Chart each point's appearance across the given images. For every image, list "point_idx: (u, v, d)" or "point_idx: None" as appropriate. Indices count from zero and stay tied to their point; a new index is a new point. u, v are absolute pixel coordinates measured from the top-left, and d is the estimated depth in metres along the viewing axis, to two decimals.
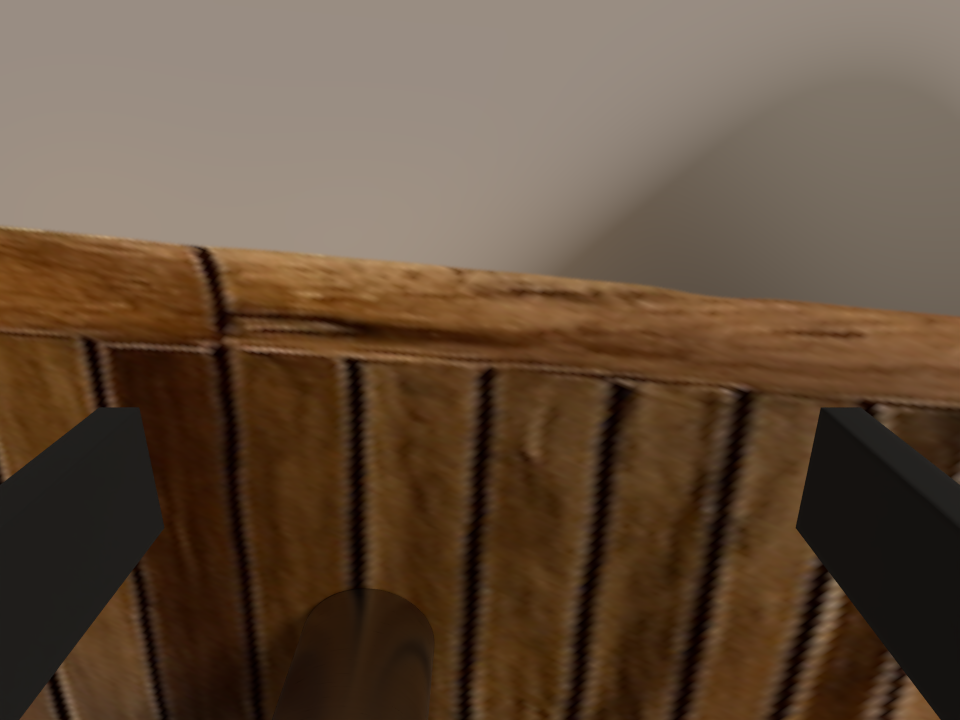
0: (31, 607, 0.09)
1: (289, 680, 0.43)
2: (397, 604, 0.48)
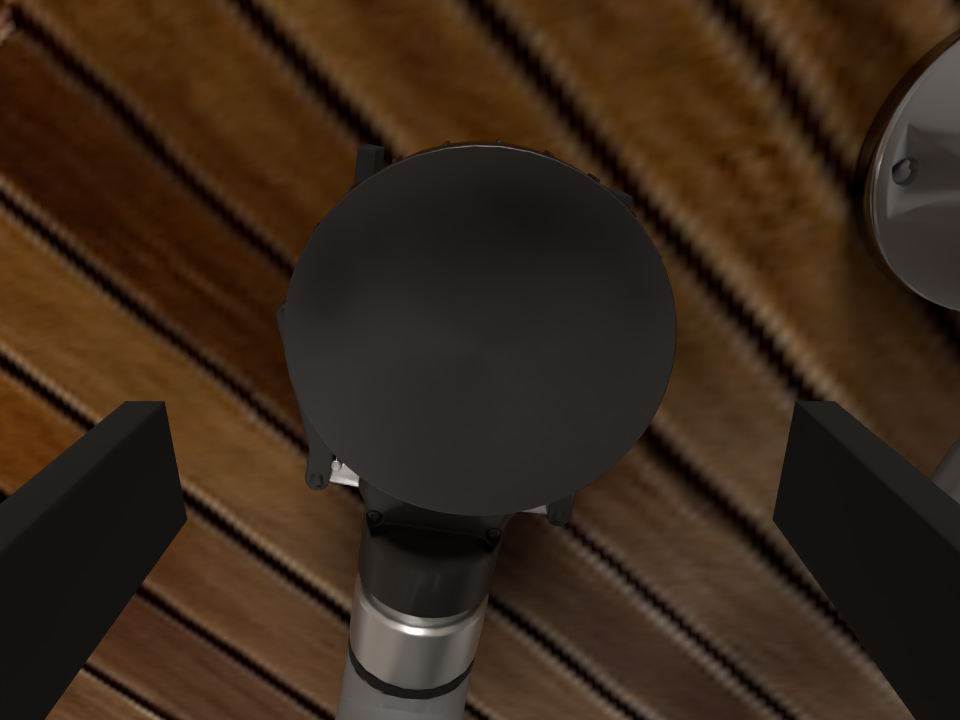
0: (68, 593, 0.10)
1: None
2: None
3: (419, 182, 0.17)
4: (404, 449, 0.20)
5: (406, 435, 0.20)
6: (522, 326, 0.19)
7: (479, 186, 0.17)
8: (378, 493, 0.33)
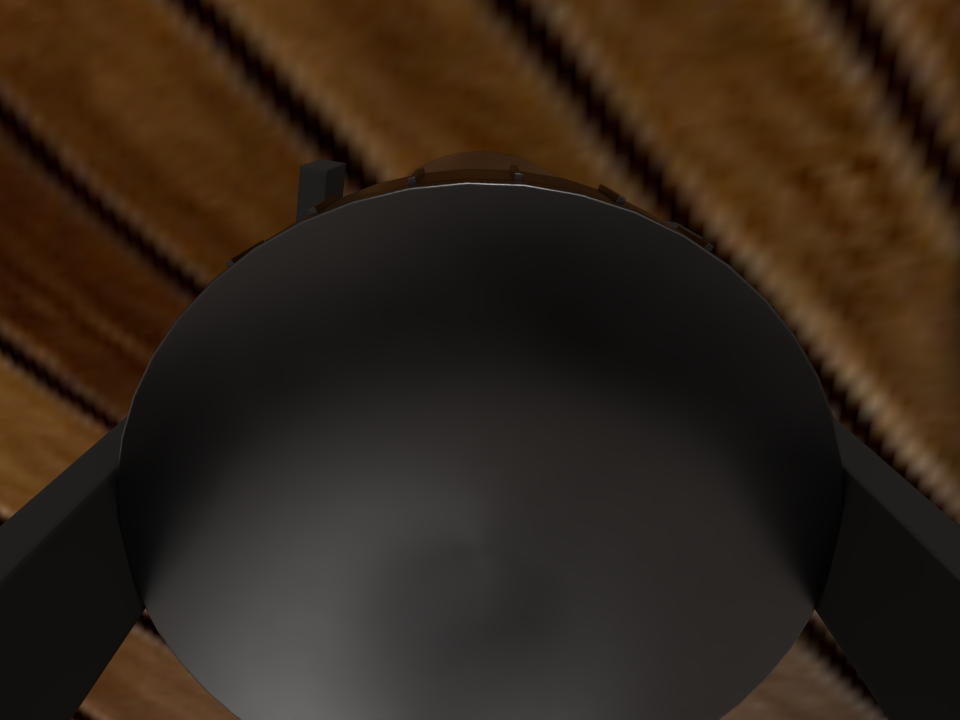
0: (102, 580, 0.10)
1: None
2: (444, 158, 0.25)
3: (359, 255, 0.09)
4: (349, 701, 0.12)
5: (351, 681, 0.11)
6: (558, 510, 0.10)
7: (479, 262, 0.09)
8: None
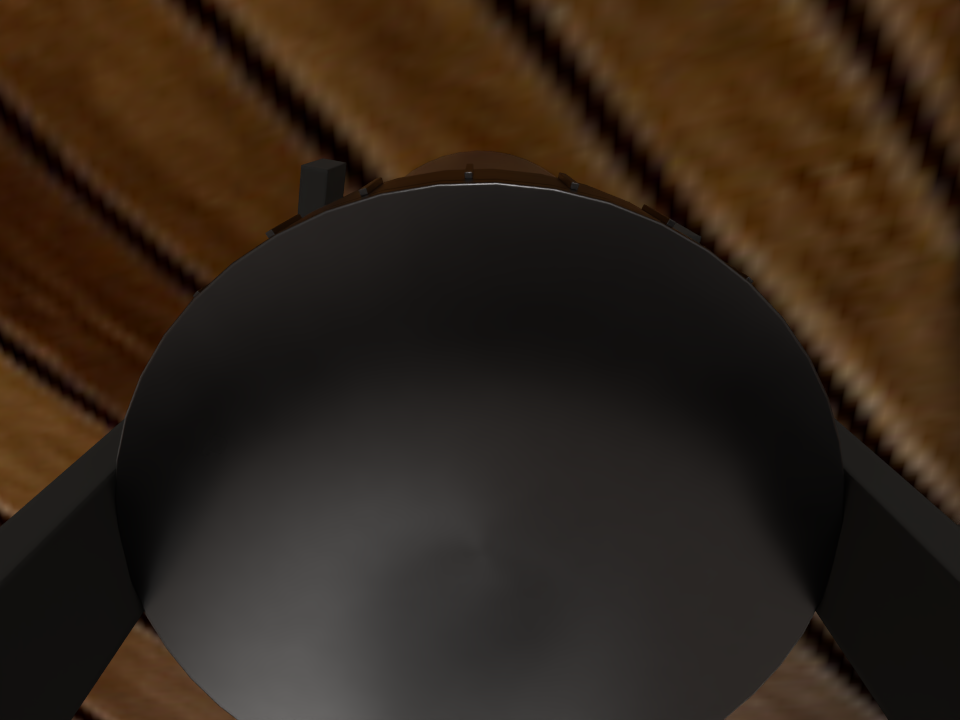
0: (103, 580, 0.10)
1: None
2: (444, 157, 0.25)
3: (173, 585, 0.11)
4: (635, 689, 0.11)
5: (610, 682, 0.11)
6: (447, 479, 0.10)
7: (183, 504, 0.10)
8: None
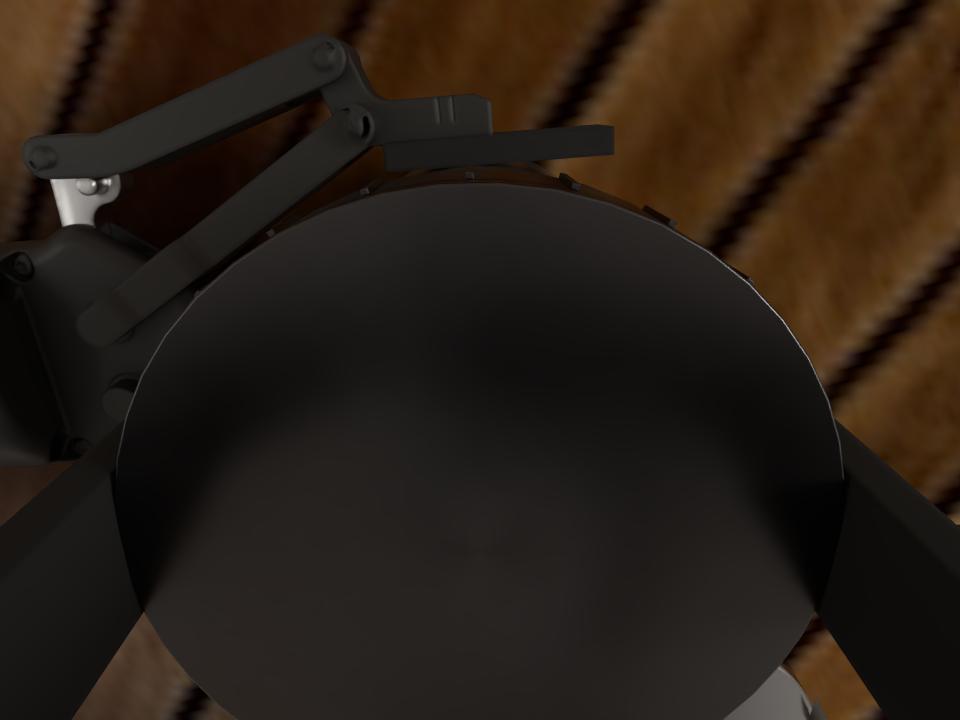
0: (103, 579, 0.10)
1: None
2: None
3: (173, 584, 0.11)
4: (635, 690, 0.11)
5: (609, 683, 0.11)
6: (447, 479, 0.10)
7: (183, 503, 0.10)
8: (67, 265, 0.20)
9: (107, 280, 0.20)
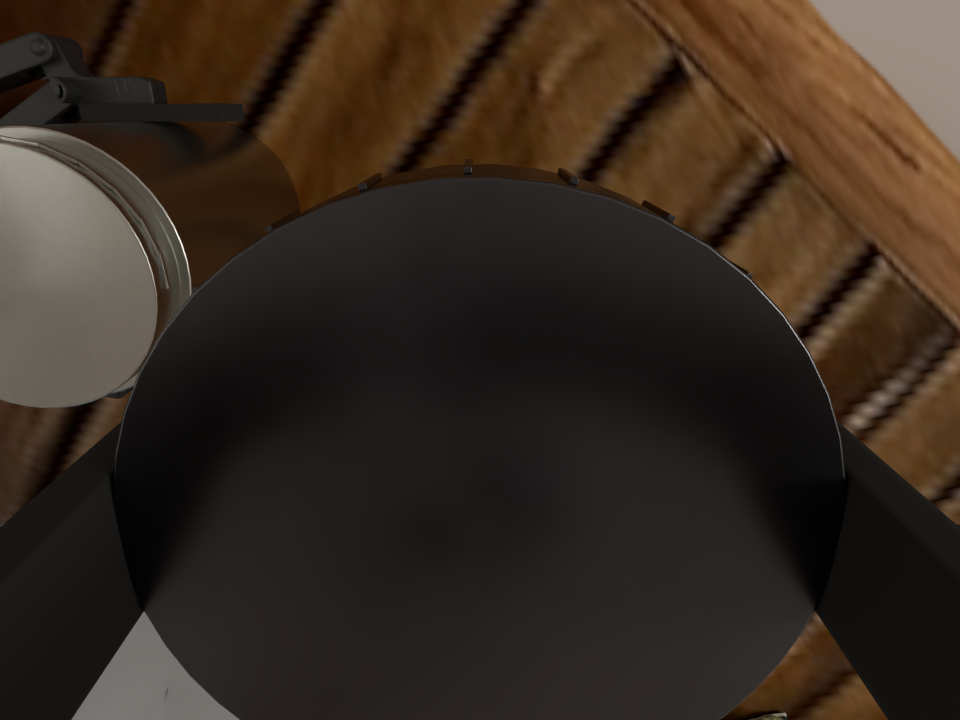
0: (103, 579, 0.10)
1: None
2: (282, 173, 0.37)
3: (172, 582, 0.11)
4: (636, 687, 0.11)
5: (610, 679, 0.11)
6: (446, 475, 0.10)
7: (181, 500, 0.10)
8: None
9: None
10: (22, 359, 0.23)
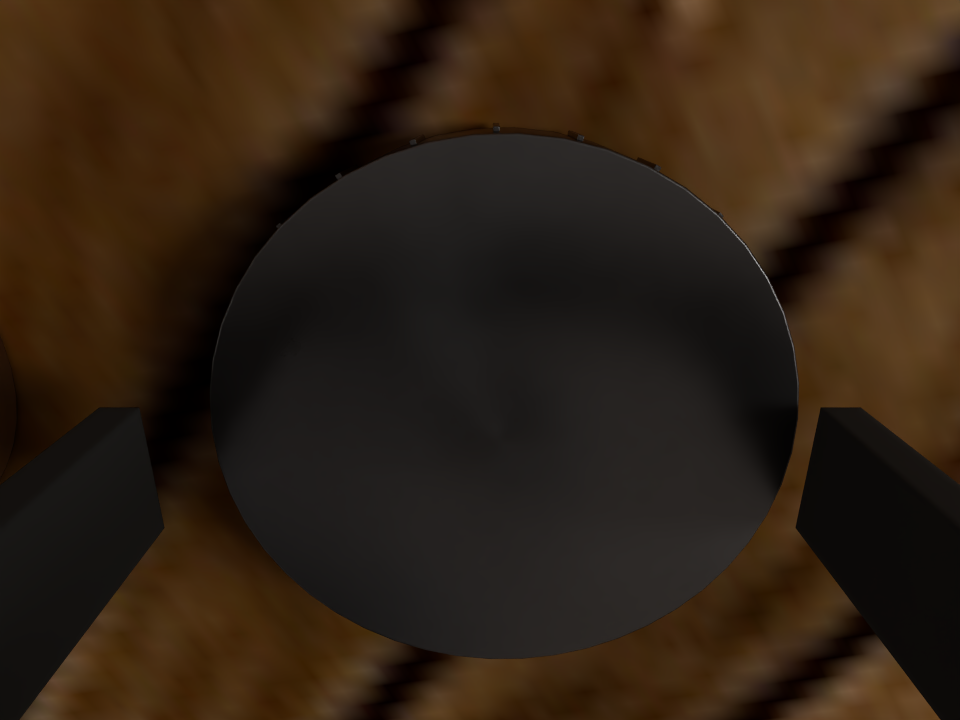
0: (31, 607, 0.09)
1: None
2: None
3: (253, 467, 0.13)
4: (629, 562, 0.14)
5: (607, 556, 0.14)
6: (476, 378, 0.12)
7: (264, 397, 0.12)
8: None
9: None
10: None
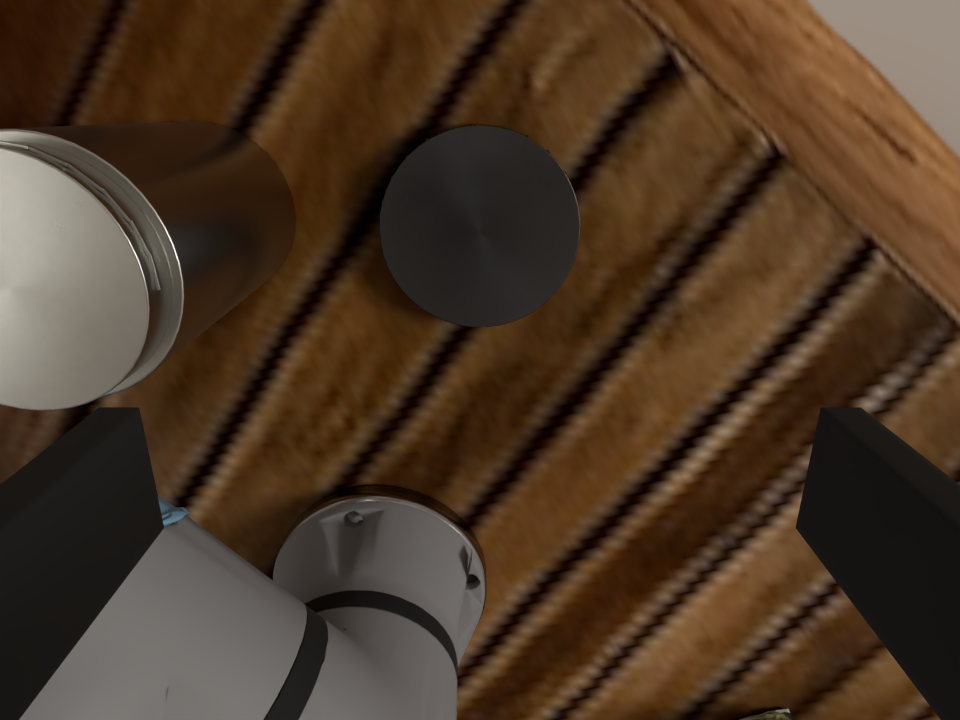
0: (31, 607, 0.09)
1: None
2: (277, 174, 0.37)
3: (392, 243, 0.37)
4: (526, 281, 0.38)
5: (518, 279, 0.38)
6: (471, 207, 0.37)
7: (398, 216, 0.37)
8: None
9: None
10: (15, 362, 0.23)
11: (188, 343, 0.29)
